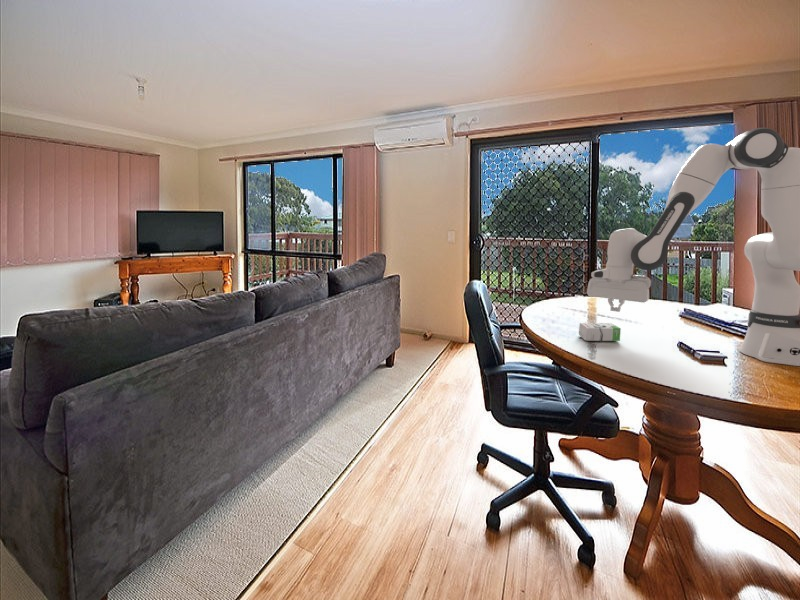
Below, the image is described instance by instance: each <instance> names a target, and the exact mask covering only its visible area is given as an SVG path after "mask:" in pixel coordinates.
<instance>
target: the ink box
mask: <svg viewBox="0 0 800 600" xmlns="http://www.w3.org/2000/svg"><path fill="white" fill-rule="evenodd" d="M621 330H622V329H621V328H620V327H619V326H617V325H615V324H613V322H607V323H606V322H579V327H578V336H579V337H582V338H583V339H582V338H581V339H582V340H584V341H586V342H587V341H588V342H590V341H591V342H593V341H594V342H598V341H603V342H620V341H621Z"/></svg>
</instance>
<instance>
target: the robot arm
mask: <svg viewBox="0 0 800 600" xmlns="http://www.w3.org/2000/svg"><path fill="white" fill-rule="evenodd" d="M752 169H755V170H757V171H758V174H760V178H761V183H760V184H761V185H760V187H761V188H760V189H761V190H760V191H761V193H760V211H761V212H760V214H761V217H762V218H763V219H764V220H765V221H766V222H767V224H768V226H769V228H770V229H771V231H770V232H764V233H760V234H756V235H754V236H751V237H750V238H749V239H747V242H746V243H745V244H744V250H743V253H744V256H745V257H746V259H747V260H748V261H749V264H750V266H751V269H752V275H753V280H754V292H753V298H752V299H753V301H752V306H751V309H750V310H749V313H748V317H747V330H746V333H745V337H744V339H743V342H742V344H741V345H740V347H739V348H738V351H739V352H740V353H741V354H743V355H746V356H749V357H751V358H755V359H757V360H760V361H761V362H766V363H773V364H780V365H788V366H794V367H800V284H799V283H798V282H797V279H796V275H795V271H796V272H800V147H791V146H790V147H789V145H788V144H787V143H786V141H784V140H783V138H782V136H781V135H780V134H779V133H778V132H777V131H776V130H774V129H772V128H770V127H769V128H768V127H756V128H752V129H751V130H747V131H744V132H742V133H741V134H739V135H738V136H736V137H734V138H733V139H731V140H730V141H728V142H726V143H725V144H723V145H721V144H718V143H705V144H702V145H701V146H698V148H697V149H696V150H695V151H694V152H693V153H692V154H691V156H689V158H688V159H687V161H685V163H684V165H683V166H682V167H681V169H680V170H679V172H678V174H677V176H676V177H675V179H674V181H673V183H672V185H671V187H670V190H669V191H668V196H667V201H666V203H665V204H666V205H665V208H664V209H663V212H662V213H661V215H660V217H659V218H658V220H657V221H656V222H655V225H654V226H653V228H652V229H651V231H650V232H649V234H648V235H646V234H643V233H642V232H640V231H638V230H636V228H633V227H629V228H622V229H616V230H614V231H612V232H611V234H610V236H609V239H608V243H607V252H606V254H607V261H606V264H605V268H601V269H598V270H594V271H592V272H591V273H590V274H591V275H590V276H591V278H590V279H589V281H588V284H587V289H586V294H587V295H588V297H595V298H601V299H607V302H608V305H609V306H610V311H611V312H618V313H620V312H621V309H622V308H621V307H622V306H623V305H624V304H625V302H626V301H627V302H637V303H644V304H645V303H646V302H648V301H649V300H650V288H651V285H652V280H651V278H650V277H648V276H647V275H637V274H634V268H635V267H636V268H638V269H639V270H643V271H653V270H656V269H658V268H660V267H661V266H663V264H665V262H666V260H667V257H668V248H669V246H670V242H671V241H672V239H673V237H674V236H675V235H676V233H677V231H678V230H679V228H680V227H681V225H682V223H683V222H684V220H685V219H686V218H687V217H688V216H689V215H690V214H691V213H692V212H693V211H694V210H696V208H698V207H699V206H700V205H701V204H702V203H703V202H704V201H705V199H707V197H708V196H709V195H710V193H711V192H712V191H713V189H715V187H716V185H717V184H718V182H719V180H720V179H721V177H722V176H723V175H724V174H725V173H726V172H727V171H728V170H734V171H742V170H744V171H745V170H752ZM634 266H635V267H634ZM614 300H618V303H619V304H618V305H615V304H614V303H613V302H614Z"/></svg>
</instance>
